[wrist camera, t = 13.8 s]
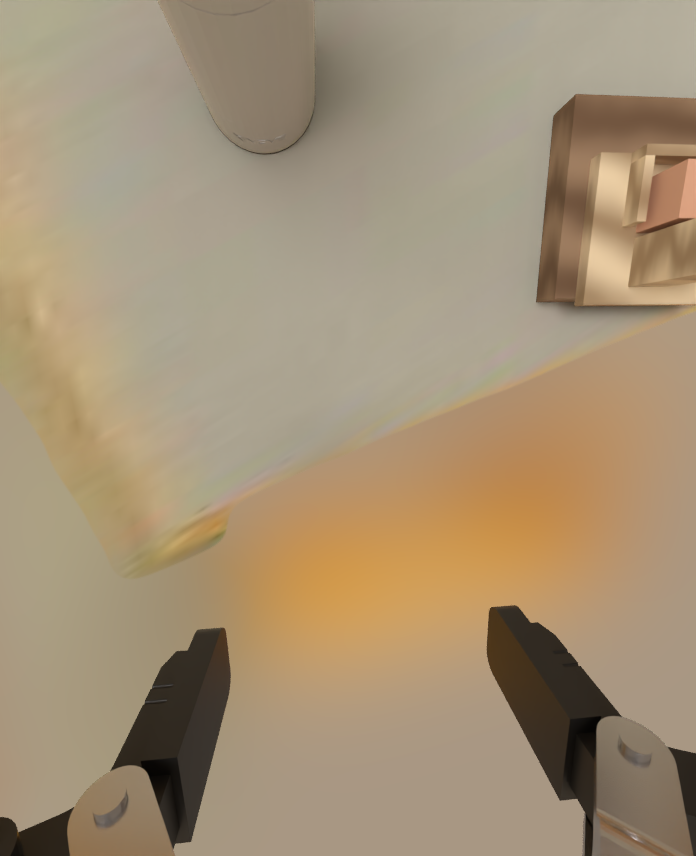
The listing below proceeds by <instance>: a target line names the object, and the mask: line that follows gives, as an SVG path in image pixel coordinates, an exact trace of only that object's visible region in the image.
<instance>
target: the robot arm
mask: <svg viewBox="0 0 696 856" xmlns="http://www.w3.org/2000/svg"><path fill="white" fill-rule="evenodd" d="M157 1H158V3H159V5H160V7H161V9H162V11H163V13H164V16H165V18H166V20H167V22H168V24H169V26H170V28H171V31H172V33H173V35H174V37H175V39H176V41H177V43H178V45H179V48H180V50H181V52H182V54H183V56H184V58H185V60H186V62H187V65H188V67H189V69H190V71H191V73H192V75H193V77H194V80H195V82H196V84H197V86H198V88H199V90H200V93H201V95H202V97H203V99H204V101H205V103H206V105H207V107H208V109H209V111H210V113H211V116H212V118H213V120H214V122H215V123H216V124H217V126H218V127H219V129H220V130H221V132H222V133H223V134H224V135H225V136H226V137H227V138H228V139H229V140H230V141H232V142H233V143H235V144H236V145H238V146H239V147H241V148H243V149H246V150H249V151H251V152H256V153H263V154H264V153H275V152H278V151H281V150H283V149H286V148H287V147H289V146H290V145H292V144H294V143H295V142H296V141H297V140H298V139H299V138H300V137H301V136H302V135H303V133H304V132H305V130H306V128H307V127H308V125H309V123H310V120H311V117H312V114H313V111H314V104H315V12H314V0H157ZM228 655H229V654H228V646H227V638H226V631H225V629H224V628H213V629H201V630H197V631H196V633H195V635H194V637H193V640H192V642H191V644H190V647H189V649H188V651H177V652H175V654H174V655H173V656H172V657H171V658H170V659H169V660H168V661H167V662H166V663H165V664H164V665H163V666H162V667H161V669H160V671H159V673H158V675H157V677H156V679H155V681H154V684H153V686H152V689H151V690H150V692H149V694H148V696H147V698H146V700H145V704H144V705H143V706H142V708H141V710H140V712H139V714H138V716H137V719H136V720H135V722H134V725H133V727H132V729H131V731H130V733H129V735H128V737H127V739H126V741H125V743H124V745H123V747H122V749H121V751H120V753H119V755H118V757H117V759H116V761H115V763H114V765H113V767H112V769H111V771H110V772H108V773H107V774H105V775H103V776H102V777H101V778H99V779H98V780H97V781H95V782H94V783H93V784H92V785H91V786H90V787H89V788H88V789H87V790H86V791H85V792H84V794H83V795H82V796H81V797H80V799H79V800H78V802H77V803H76V805H75V807H73V808H72V809H70V810H68V811H66V812H64V813H62V814H60V815H58V816H56V817H53V818H51V819H49V820H46V821H44V822H42V823H39V824H37V825H35V826H33V827H30V828H28V829H25V830H23V831H21V832H18V830H17V827H16V824H15V823H14V822H13V821H12V820H11V819H9V818H4V817H0V856H175V854H174V851H173V849H174V845H175V844H176V843H185V842H191V840H192V836H193V832H194V828H195V824H196V820H197V816H198V812H199V809H200V805H201V801H202V797H203V793H204V789H205V785H206V781H207V777H208V773H209V769H210V766H211V762H212V758H213V754H214V750H215V746H216V742H217V739H218V735H219V731H220V727H221V723H222V719H223V715H224V711H225V707H226V703H227V700H228V695H229V690H230V678H231V677H230V676H231V675H230V664H229V656H228ZM487 657H488V662H489V665H490V668H491V671H492V673H493V675H494V677H495V679H496V681H497V683H498V685H499V687H500V688H501V690H502V692H503V694H504V696H505V698H506V700H507V702H508V703H509V705H510V707H511V709H512V711H513V713H514V715H515V717H516V719H517V720H518V722H519V724H520V726H521V728H522V730H523V732H524V734H525V735H526V737H527V739H528V741H529V743H530V745H531V747H532V749H533V751H534V753H535V754H536V756H537V758H538V760H539V762H540V764H541V766H542V767H543V769H544V771H545V773H546V775H547V777H548V779H549V781H550V783H551V785H552V787H553V788H554V790H555V792H556V794H557V796H558V798H559V800H569V799H578V801H579V803H580V804H581V806H582V808H583V810H584V811H585V813H584V821H583V853H582V856H696V753H691V752H687V751H682V750H678V749H673V748H670V747H667V746H666V745H665V743H664V742H663V741H662V740H661V739H660V738H659V737H658V736H656V735H655V734H654V733H653V732H652V731H650V730H649V729H647V728H646V727H644V726H643V725H641V724H639V723H637V722H635V721H633V720H630V719H627V718H624V717H622V716H621V715H620V714H619V713H618V711H617V710H616V709H615V708H614V707H613V705H612V704H611V703H610V702H609V701H608V699H607V698H606V697H605V696H604V694H603V693H602V692H601V691H600V689H599V688H598V687H597V686H596V685H595V683H594V682H593V681H592V680H591V679H590V677H589V676H588V675H587V674H586V672H585V671H584V670H583V669H582V667H581V666H578V662H577V661H576V660H575V659H574V658H573V656H572V655H571V654H570V653H568V652H567V649H566V648H565V647H564V645H563V644H562V643H561V642H560V640H559V639H558V638H557V637H556V636H555V635H554V634H553V633H552V632H550V631H549V630H548V629H546V628H545V627H543V626H542V625H541V624H539V623H530V622H529V620H528V619H527V618H526V616H525V615H524V614H523V612H522V611H521V610H520V609H519V607H517V606H515V605H514V606H501V607H491V608H490V611H489V621H488V637H487Z"/></svg>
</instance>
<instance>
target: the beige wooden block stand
mask: <svg viewBox="0 0 696 856" xmlns="http://www.w3.org/2000/svg"><path fill="white" fill-rule="evenodd" d="M687 159H696V145H683V144H646V145H645V146H643V147H641V148H640V149H638V150H636V151H635V152H633V153H610V152H601V153H600V154H598V155H597V156H595V157H594V158H592V159H591V164H590V173H589V182H588V190H587V199H586V208H585V217H584V225H583V234H582V243H581V252H580V260H579V269H578V278H577V287H576V296H575V304H574V306H653V305H696V218H694V219H691V220H688V221H685V222H682V223H679V224H676V225H673V226H670V227H667V228H664V229H661V230H658V231H655V232H652V233H636V226H637V225H638V224H640V223H643V222H646V216H647V209H648V203H649V196H650V189H651V182H652V177H653V176H655V175H657V174H659V173H661V172H663V171H665V170H667V169H669V168H671V167H673V166H675V165H677V164H679V163H681V162H683V161H685V160H687Z"/></svg>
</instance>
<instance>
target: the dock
mask: <svg viewBox="0 0 696 856" xmlns="http://www.w3.org/2000/svg"><path fill="white" fill-rule="evenodd" d="M646 144H683V145H696V99H695V98H667V97H639V96H611V95H583V94H576V95H575V96H574V97H573V98H572V99H571V100H569V101H568V102H567V103H566V104H565V105H564V106H563V107H562V108H561V109H560V110H559V111H558V112H557V113H556V114H555V115H554V118H553V129H552V139H551V150H550V161H549V172H548V182H547V193H546V204H545V214H544V225H543V236H542V247H541V257H540V268H539V279H538V289H537V300H536V302H575V296H576V287H577V278H578V269H579V260H580V252H581V243H582V234H583V225H584V217H585V208H586V199H587V190H588V182H589V173H590V164H591V159H592V158H594V157H595V156H597V155H598V154H600V153H601V152H610V153H633V152H635V151H636V150H638V149H640V148H641V147H643V146H645V145H646Z"/></svg>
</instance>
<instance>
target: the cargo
mask: <svg viewBox="0 0 696 856" xmlns="http://www.w3.org/2000/svg"><path fill="white" fill-rule="evenodd" d="M694 218H696V159H687V160H685V161H683V162H681V163H679V164H677V165H675V166H673V167H671V168H669V169H667V170H665V171H663V172H661V173H659V174H657V175H655V176H653V177H652V182H651V189H650V196H649V203H648V209H647V216H646V222H643V223H640V224H638V225H637V226H636V233H652V232H655V231H658V230H661V229H664V228H667V227H670V226H673V225H676V224H679V223H682V222H685V221H688V220H691V219H694Z"/></svg>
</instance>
